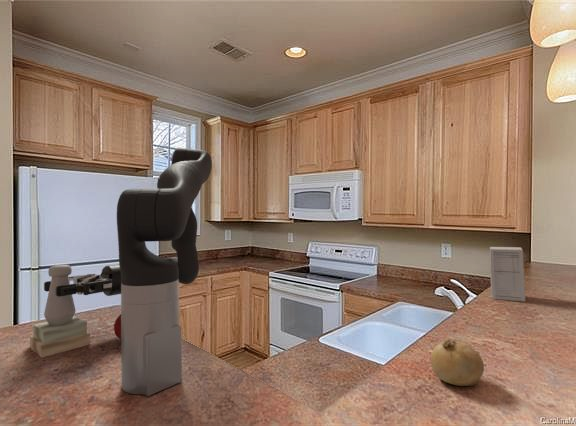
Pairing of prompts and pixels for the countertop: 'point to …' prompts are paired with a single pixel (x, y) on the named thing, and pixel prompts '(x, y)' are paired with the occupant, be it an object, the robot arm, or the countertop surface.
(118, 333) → the onion
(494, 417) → the countertop surface
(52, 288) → the salt shaker
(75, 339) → the brick base
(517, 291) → the supplement box
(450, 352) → the onion
